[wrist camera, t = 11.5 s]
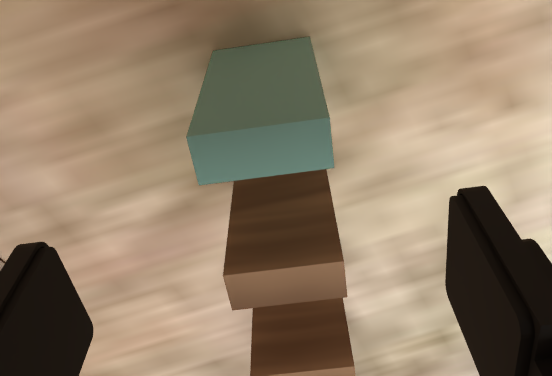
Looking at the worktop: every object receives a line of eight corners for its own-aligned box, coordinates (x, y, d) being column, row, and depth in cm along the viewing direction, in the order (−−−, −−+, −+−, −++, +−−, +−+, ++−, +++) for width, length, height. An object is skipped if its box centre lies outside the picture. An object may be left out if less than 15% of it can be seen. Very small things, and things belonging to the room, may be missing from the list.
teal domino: (213, 50, 26) (186, 136, 18) (309, 36, 26) (329, 117, 17) (220, 87, 27) (198, 185, 19) (313, 74, 27) (334, 168, 18)
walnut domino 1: (236, 159, 30) (223, 275, 21) (322, 148, 29) (343, 261, 21) (242, 188, 31) (232, 310, 22) (325, 177, 30) (347, 297, 22)
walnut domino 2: (255, 247, 33) (250, 377, 25) (332, 237, 33) (354, 366, 24) (260, 270, 34) (257, 403, 26) (334, 261, 34) (356, 392, 25)
